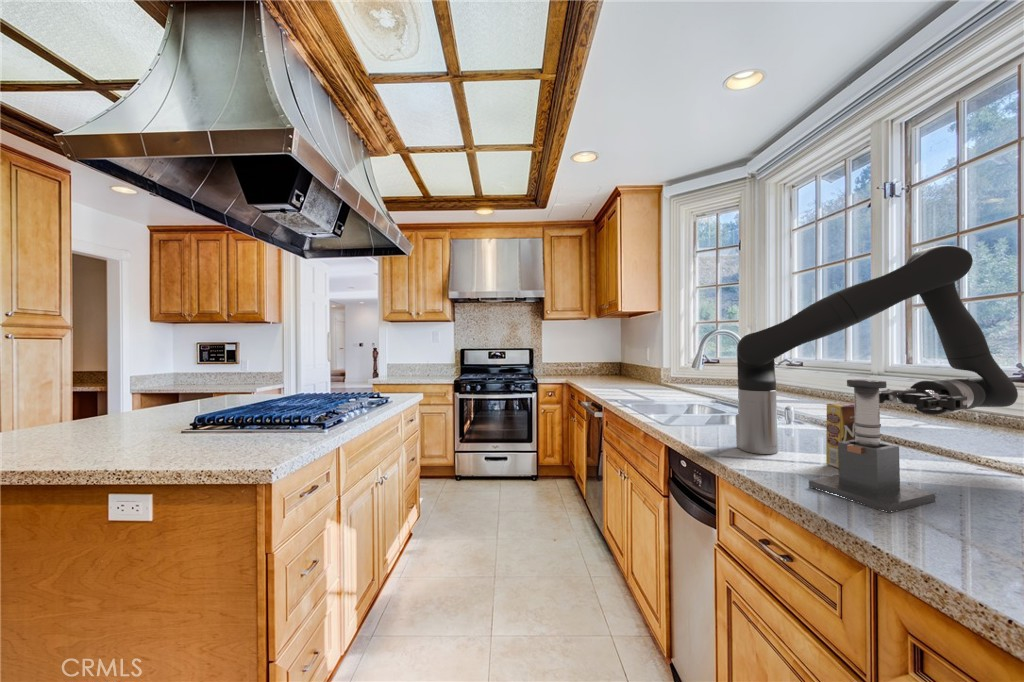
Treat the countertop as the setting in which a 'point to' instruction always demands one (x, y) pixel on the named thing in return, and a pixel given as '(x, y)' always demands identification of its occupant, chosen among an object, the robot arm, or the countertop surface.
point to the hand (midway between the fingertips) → (895, 401)
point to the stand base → (872, 478)
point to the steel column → (867, 411)
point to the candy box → (838, 429)
